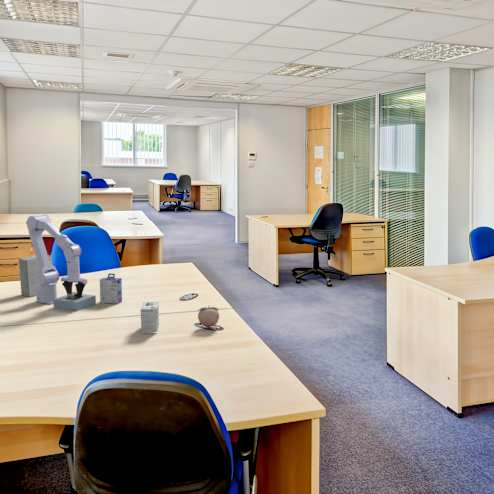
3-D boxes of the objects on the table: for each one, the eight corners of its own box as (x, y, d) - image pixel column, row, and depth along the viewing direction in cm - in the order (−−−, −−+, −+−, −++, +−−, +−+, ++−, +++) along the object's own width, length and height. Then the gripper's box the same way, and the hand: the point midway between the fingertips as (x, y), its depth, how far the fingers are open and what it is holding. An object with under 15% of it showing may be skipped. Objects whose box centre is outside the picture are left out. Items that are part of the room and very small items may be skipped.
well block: (53, 307, 252) (53, 299, 251) (73, 300, 264) (73, 292, 264) (77, 311, 246) (76, 302, 246) (95, 303, 259) (95, 295, 259)
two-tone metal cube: (67, 306, 254) (67, 293, 253) (74, 304, 258) (74, 291, 257) (74, 307, 252) (73, 294, 251) (81, 305, 257) (80, 292, 256)
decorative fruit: (201, 332, 217) (201, 309, 216) (195, 326, 225) (195, 304, 223) (222, 329, 221) (222, 306, 220) (216, 323, 229) (216, 302, 227)
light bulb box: (143, 325, 225) (143, 301, 223) (159, 325, 226) (158, 301, 224) (140, 334, 214) (140, 308, 213) (157, 333, 215) (156, 308, 213)
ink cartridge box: (122, 301, 265) (122, 273, 262) (118, 304, 259) (117, 275, 257) (104, 300, 267) (103, 272, 264) (99, 302, 261) (98, 274, 259)
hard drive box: (46, 289, 288) (44, 254, 284) (54, 291, 283) (52, 255, 280) (20, 295, 275) (18, 258, 272) (28, 297, 271) (26, 259, 268)
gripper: (55, 269, 251) (57, 297, 254) (80, 272, 246) (81, 300, 248) (65, 267, 258) (67, 293, 260) (89, 269, 253) (90, 296, 255)
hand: (74, 296), depth 255 cm, fingers open, 5 cm apart
